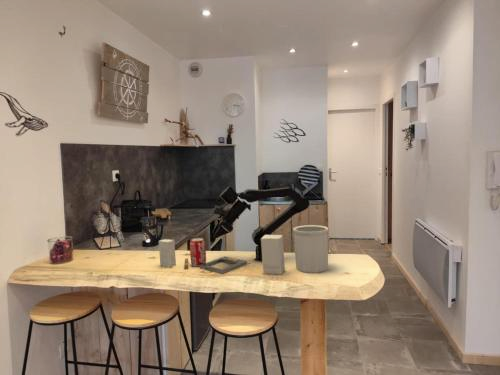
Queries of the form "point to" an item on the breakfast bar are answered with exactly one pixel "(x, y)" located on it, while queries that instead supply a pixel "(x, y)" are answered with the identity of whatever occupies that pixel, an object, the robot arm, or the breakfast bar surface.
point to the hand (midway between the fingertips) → (212, 236)
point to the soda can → (197, 251)
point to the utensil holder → (311, 248)
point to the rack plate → (234, 262)
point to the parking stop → (186, 263)
